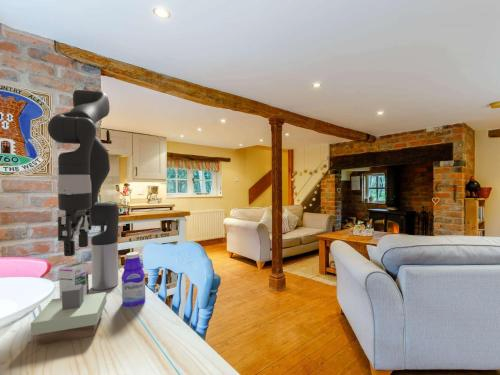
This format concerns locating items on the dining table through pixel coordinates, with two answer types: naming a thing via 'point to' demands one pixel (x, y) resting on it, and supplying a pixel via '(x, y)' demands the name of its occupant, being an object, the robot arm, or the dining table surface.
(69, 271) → the syrup box
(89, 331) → the box
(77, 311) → the lid
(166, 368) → the dining table surface
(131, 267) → the bottle
